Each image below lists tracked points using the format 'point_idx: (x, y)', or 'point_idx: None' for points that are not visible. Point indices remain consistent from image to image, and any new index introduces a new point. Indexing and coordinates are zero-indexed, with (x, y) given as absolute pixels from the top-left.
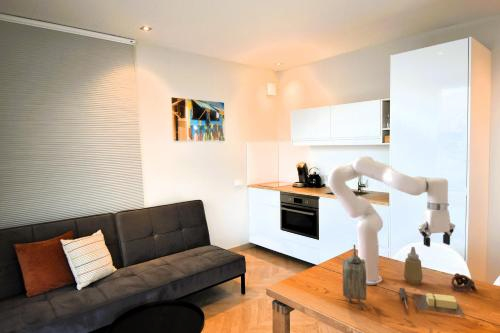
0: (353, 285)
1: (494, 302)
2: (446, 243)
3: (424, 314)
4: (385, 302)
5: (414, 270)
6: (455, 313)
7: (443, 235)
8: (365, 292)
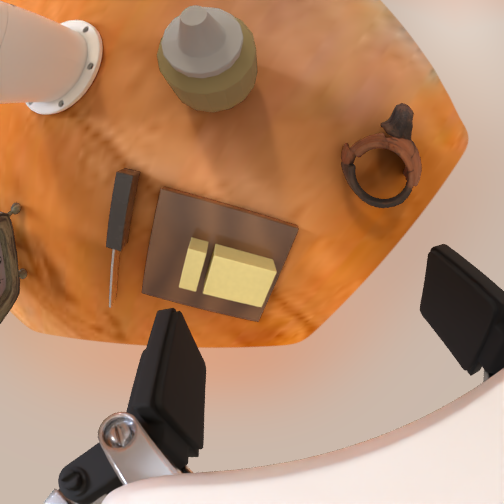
0: None
1: (402, 234)
2: (427, 297)
3: None
4: (71, 234)
5: (196, 102)
6: (240, 312)
7: (487, 307)
8: (6, 311)
